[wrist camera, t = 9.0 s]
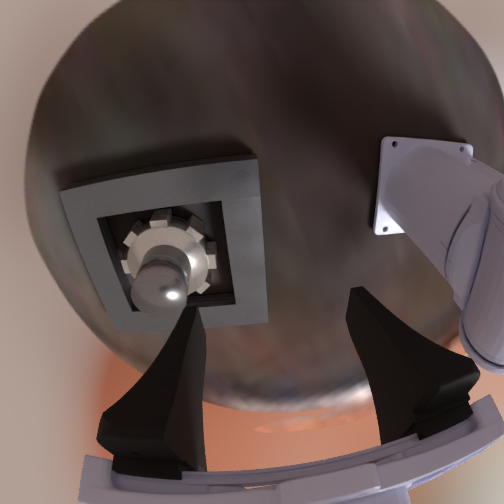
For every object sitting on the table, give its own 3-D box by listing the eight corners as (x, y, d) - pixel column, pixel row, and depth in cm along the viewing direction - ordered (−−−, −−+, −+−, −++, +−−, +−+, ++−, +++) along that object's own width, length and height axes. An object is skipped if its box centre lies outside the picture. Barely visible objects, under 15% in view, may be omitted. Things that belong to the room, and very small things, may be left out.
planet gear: (212, 205, 21) (207, 246, 16) (220, 284, 24) (219, 334, 20) (118, 213, 20) (91, 254, 16) (139, 288, 24) (124, 336, 20)
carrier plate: (255, 153, 19) (257, 159, 17) (266, 310, 26) (268, 322, 25) (68, 184, 18) (58, 192, 17) (121, 320, 26) (117, 332, 25)
